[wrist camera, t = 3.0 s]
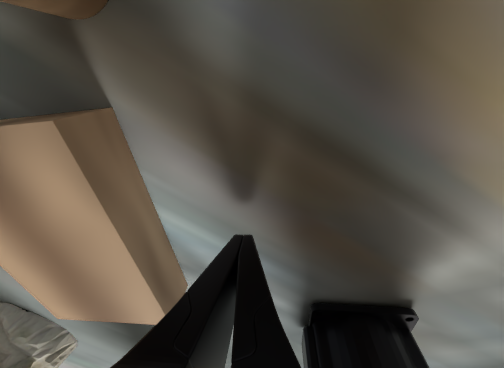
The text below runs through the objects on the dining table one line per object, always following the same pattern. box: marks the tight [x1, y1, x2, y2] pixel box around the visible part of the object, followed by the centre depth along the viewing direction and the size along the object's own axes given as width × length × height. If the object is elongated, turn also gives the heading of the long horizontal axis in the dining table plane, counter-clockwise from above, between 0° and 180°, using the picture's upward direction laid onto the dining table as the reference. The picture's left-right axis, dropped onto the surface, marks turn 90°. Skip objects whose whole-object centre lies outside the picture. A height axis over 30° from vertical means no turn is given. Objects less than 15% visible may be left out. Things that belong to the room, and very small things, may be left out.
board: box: [0, 107, 188, 325], centre depth 11 cm, size 8×12×3 cm, turn 7°
